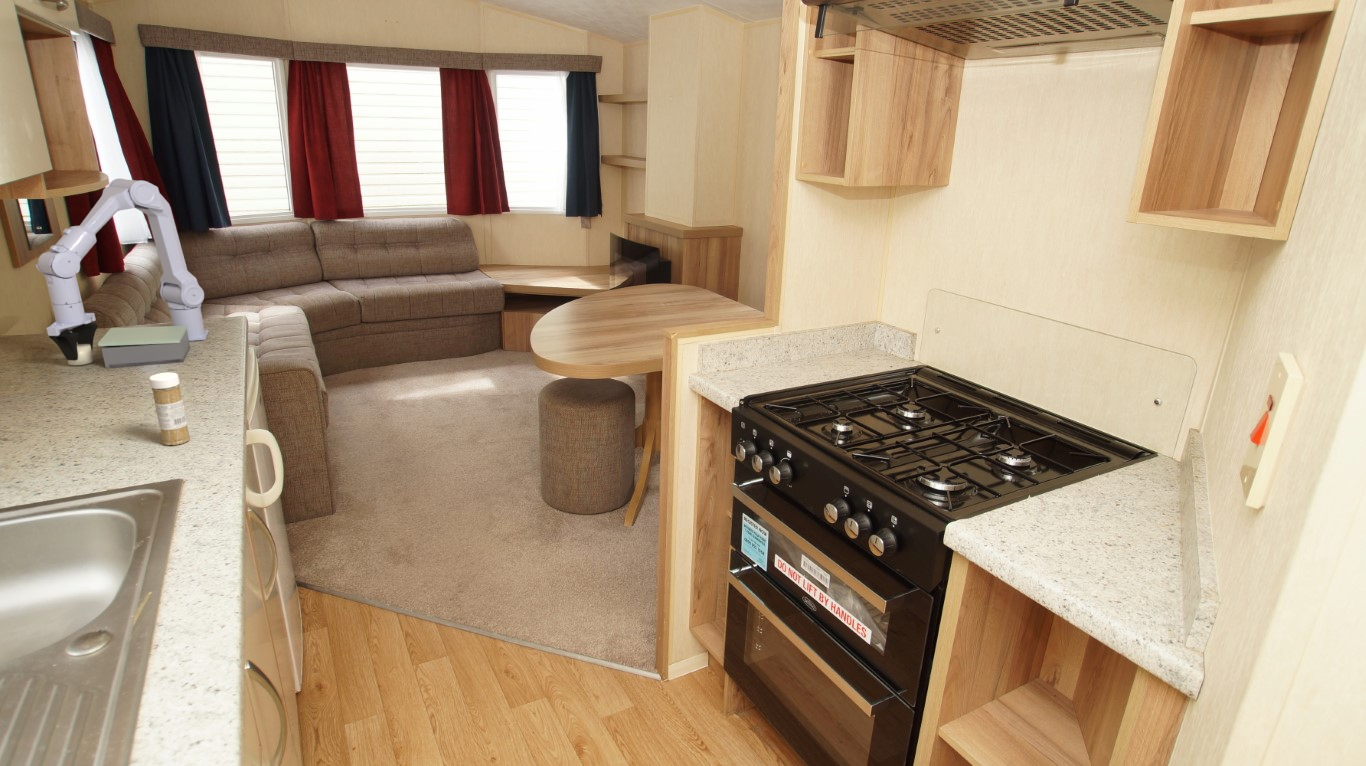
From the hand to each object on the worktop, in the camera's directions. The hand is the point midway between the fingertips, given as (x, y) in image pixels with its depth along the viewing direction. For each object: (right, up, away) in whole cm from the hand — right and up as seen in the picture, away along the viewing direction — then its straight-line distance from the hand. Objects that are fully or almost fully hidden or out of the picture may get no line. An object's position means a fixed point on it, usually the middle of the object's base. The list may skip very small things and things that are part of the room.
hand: (79, 356), depth 185 cm
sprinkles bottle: (+51, -18, -41) cm, 68 cm away
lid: (+12, +5, +6) cm, 14 cm away
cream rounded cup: (0, -1, 0) cm, 1 cm away
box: (+12, 0, +7) cm, 14 cm away
